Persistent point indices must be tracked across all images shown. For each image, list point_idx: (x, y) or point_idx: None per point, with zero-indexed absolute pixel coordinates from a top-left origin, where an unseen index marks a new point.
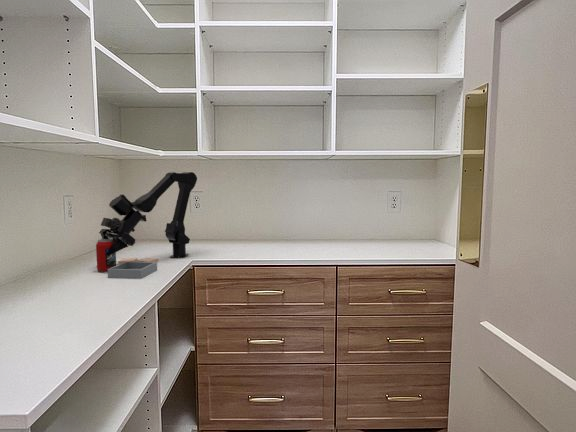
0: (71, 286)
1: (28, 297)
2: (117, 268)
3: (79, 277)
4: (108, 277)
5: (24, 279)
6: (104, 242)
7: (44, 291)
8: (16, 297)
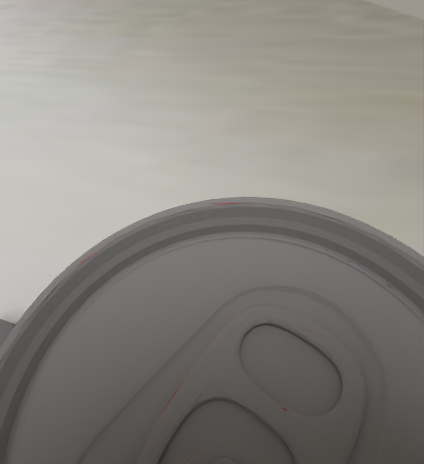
0: (31, 136)
1: (32, 28)
2: None
3: (180, 195)
4: (9, 326)
5: (343, 18)
6: (39, 324)
7: (57, 61)
8: (67, 7)
